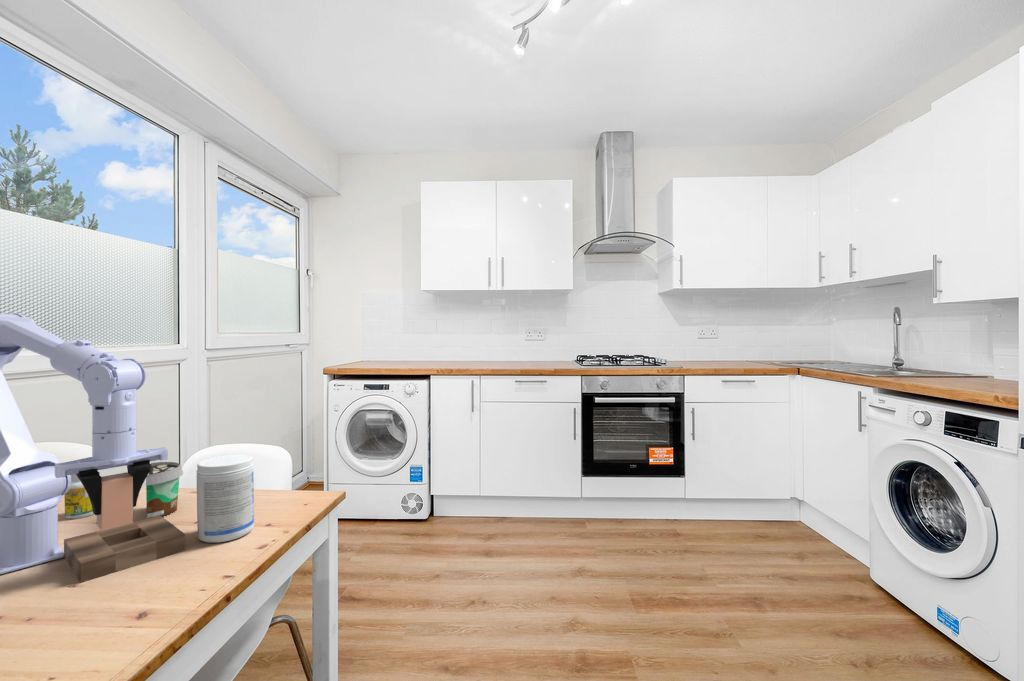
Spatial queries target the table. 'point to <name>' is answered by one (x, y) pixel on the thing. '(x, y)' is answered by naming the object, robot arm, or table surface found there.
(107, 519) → the terracotta peg
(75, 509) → the supplement bottle
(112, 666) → the table surface
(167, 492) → the food container
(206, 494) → the supplement tub
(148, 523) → the walnut stand board
